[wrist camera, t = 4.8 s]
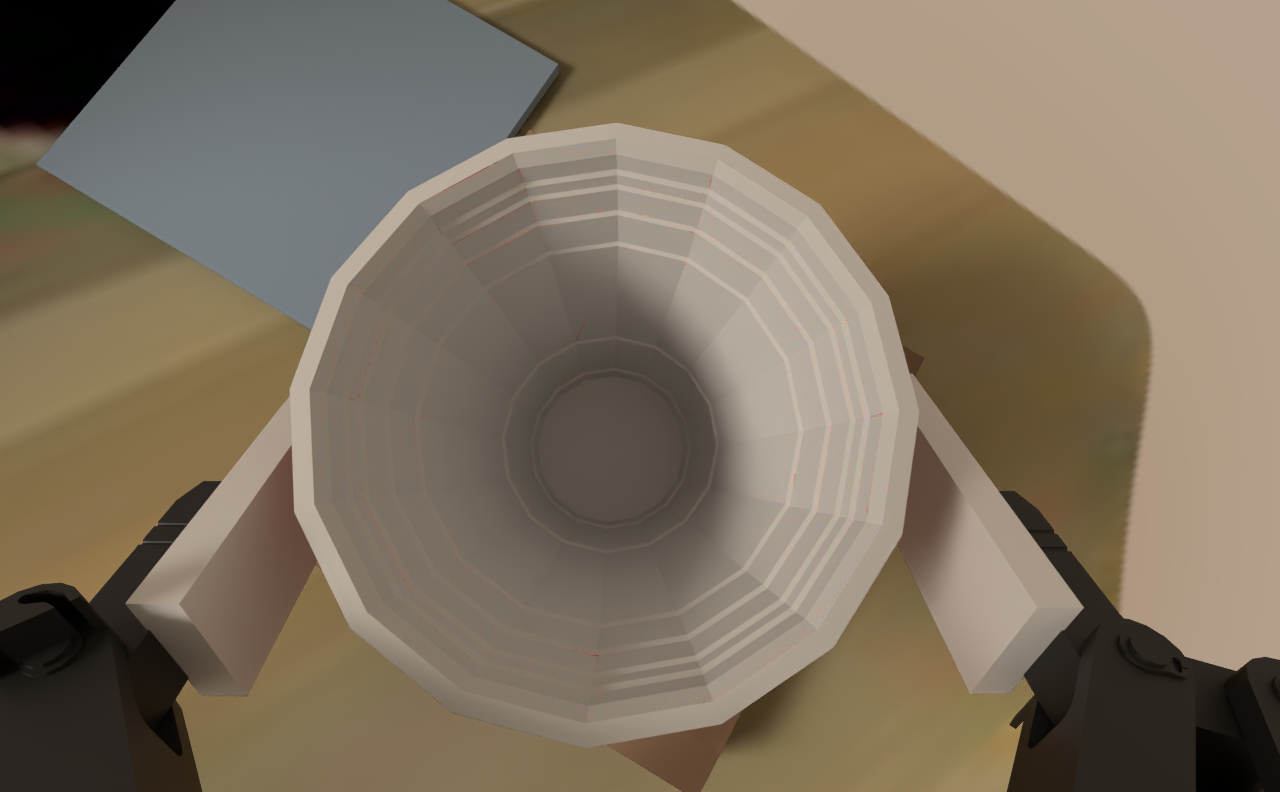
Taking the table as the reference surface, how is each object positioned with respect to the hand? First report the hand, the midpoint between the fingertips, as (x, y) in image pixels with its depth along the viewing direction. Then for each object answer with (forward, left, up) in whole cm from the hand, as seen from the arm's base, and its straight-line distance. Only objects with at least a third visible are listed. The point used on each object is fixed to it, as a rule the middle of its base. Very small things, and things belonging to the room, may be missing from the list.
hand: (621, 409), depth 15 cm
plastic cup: (0, -1, -7) cm, 7 cm away
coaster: (-17, +4, -7) cm, 19 cm away
